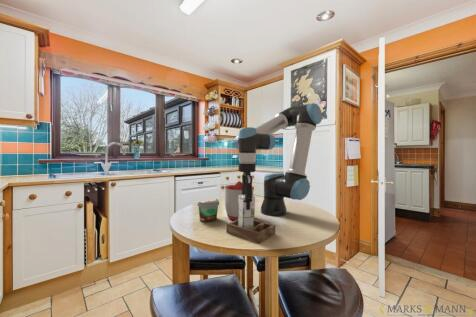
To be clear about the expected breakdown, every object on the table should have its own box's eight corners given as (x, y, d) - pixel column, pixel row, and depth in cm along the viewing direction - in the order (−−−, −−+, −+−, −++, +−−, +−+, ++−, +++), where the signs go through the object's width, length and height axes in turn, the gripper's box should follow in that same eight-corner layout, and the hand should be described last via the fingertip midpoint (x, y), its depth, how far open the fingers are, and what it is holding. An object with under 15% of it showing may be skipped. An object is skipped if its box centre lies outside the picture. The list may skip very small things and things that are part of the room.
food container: (203, 224, 107) (204, 204, 107) (197, 221, 112) (197, 202, 111) (223, 219, 115) (224, 200, 115) (217, 216, 120) (217, 198, 119)
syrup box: (249, 225, 101) (249, 193, 101) (254, 229, 96) (255, 196, 96) (237, 226, 99) (238, 194, 99) (242, 230, 94) (242, 197, 94)
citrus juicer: (259, 215, 123) (260, 180, 122) (244, 224, 108) (245, 184, 107) (235, 211, 131) (236, 178, 130) (218, 219, 116) (219, 181, 115)
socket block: (243, 225, 107) (243, 217, 106) (275, 234, 96) (275, 225, 96) (226, 232, 97) (226, 223, 97) (259, 243, 86) (259, 233, 86)
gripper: (236, 161, 106) (235, 208, 107) (241, 164, 87) (240, 221, 87) (251, 161, 107) (250, 208, 108) (260, 164, 87) (259, 221, 88)
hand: (246, 214), depth 98 cm, fingers closed on syrup box, 6 cm apart
